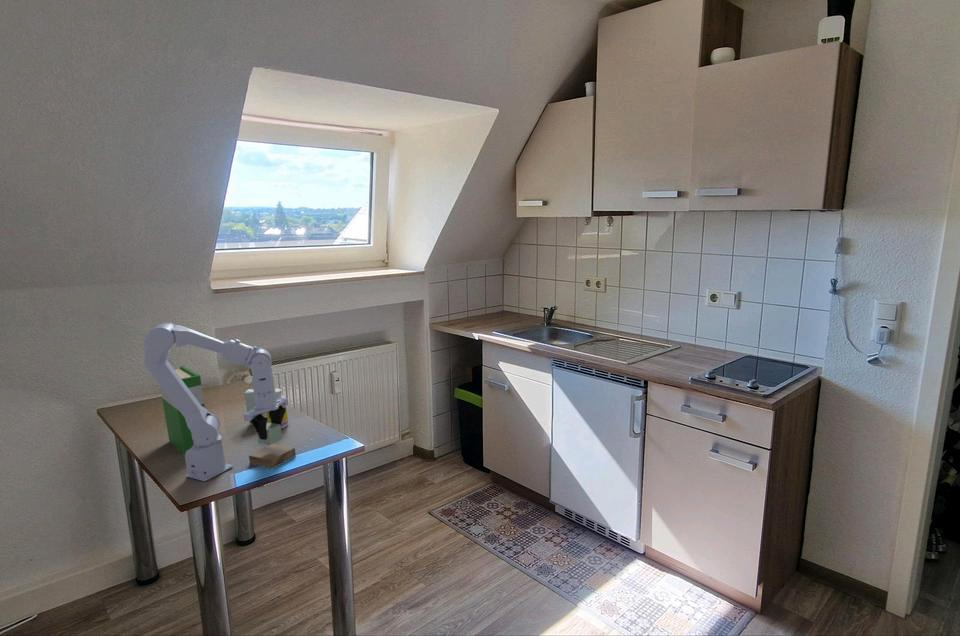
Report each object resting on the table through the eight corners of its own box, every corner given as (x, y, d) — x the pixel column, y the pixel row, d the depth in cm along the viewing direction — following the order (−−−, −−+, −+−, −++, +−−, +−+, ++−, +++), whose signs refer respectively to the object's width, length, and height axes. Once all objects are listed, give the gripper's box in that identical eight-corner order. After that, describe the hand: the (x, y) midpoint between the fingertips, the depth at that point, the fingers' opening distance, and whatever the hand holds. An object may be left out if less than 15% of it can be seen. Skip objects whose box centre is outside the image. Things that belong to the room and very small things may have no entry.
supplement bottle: (266, 431, 184) (262, 394, 182) (268, 424, 191) (264, 388, 188) (287, 428, 186) (283, 392, 184) (289, 421, 192) (284, 386, 190)
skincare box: (270, 420, 195) (266, 387, 192) (266, 424, 190) (262, 391, 188) (252, 421, 194) (248, 388, 192) (248, 426, 190) (243, 392, 188)
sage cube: (270, 445, 158) (268, 430, 157) (259, 442, 160) (257, 428, 159) (282, 439, 162) (280, 424, 161) (271, 436, 164) (269, 422, 163)
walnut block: (272, 470, 156) (271, 460, 156) (250, 465, 160) (248, 455, 160) (296, 457, 164) (294, 447, 164) (273, 452, 168) (272, 443, 168)
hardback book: (169, 441, 180) (157, 370, 175) (193, 434, 185) (183, 365, 180) (185, 457, 167) (173, 381, 162) (211, 449, 172) (200, 375, 167)
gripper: (253, 400, 150) (260, 447, 153) (293, 384, 163) (298, 428, 165) (236, 398, 153) (242, 443, 156) (276, 382, 166) (281, 425, 169)
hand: (270, 435), depth 161 cm, fingers closed on sage cube, 4 cm apart
